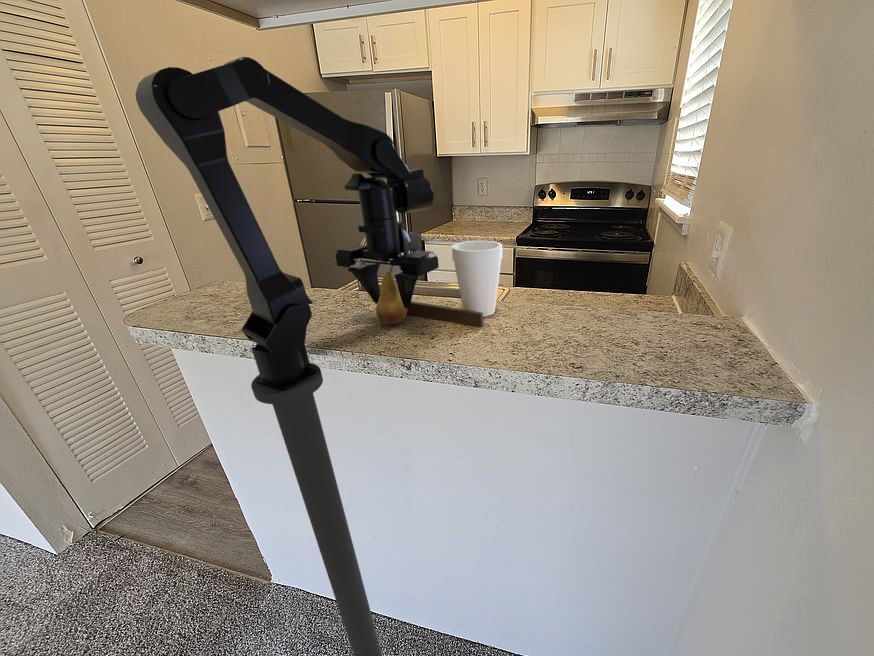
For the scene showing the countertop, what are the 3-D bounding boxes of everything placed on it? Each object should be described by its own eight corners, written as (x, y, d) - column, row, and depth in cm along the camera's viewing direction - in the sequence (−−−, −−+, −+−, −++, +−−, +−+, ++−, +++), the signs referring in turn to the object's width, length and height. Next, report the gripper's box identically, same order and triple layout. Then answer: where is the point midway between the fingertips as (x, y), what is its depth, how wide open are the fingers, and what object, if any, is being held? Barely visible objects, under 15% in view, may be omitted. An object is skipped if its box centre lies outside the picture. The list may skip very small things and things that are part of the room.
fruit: (378, 320, 79) (367, 258, 73) (408, 316, 80) (399, 254, 74) (378, 330, 74) (366, 264, 68) (410, 326, 75) (400, 260, 69)
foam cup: (481, 300, 87) (479, 238, 81) (512, 310, 81) (512, 244, 75) (446, 311, 81) (441, 246, 75) (476, 324, 75) (474, 254, 69)
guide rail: (481, 327, 74) (480, 314, 73) (393, 311, 82) (392, 300, 81) (483, 325, 75) (483, 312, 73) (396, 310, 83) (395, 298, 82)
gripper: (451, 212, 70) (457, 298, 77) (368, 209, 78) (380, 287, 85) (414, 223, 61) (424, 318, 69) (325, 218, 69) (342, 304, 76)
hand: (392, 305), depth 75 cm, fingers open, 7 cm apart
